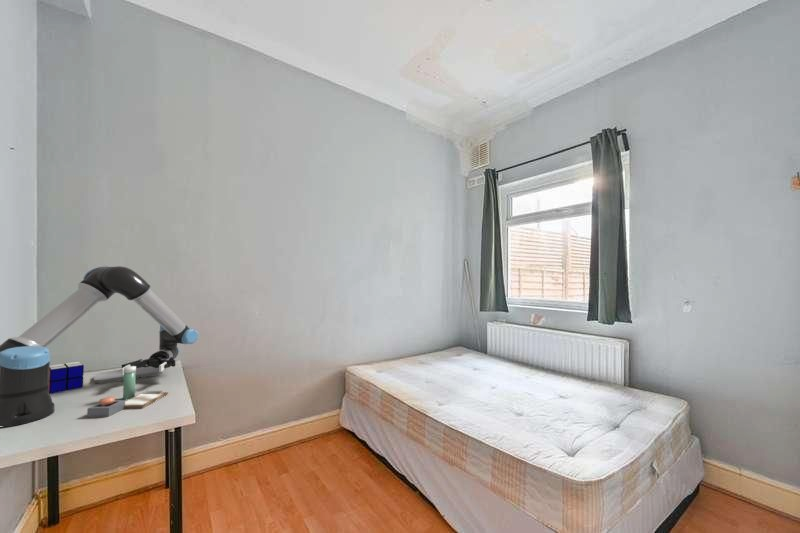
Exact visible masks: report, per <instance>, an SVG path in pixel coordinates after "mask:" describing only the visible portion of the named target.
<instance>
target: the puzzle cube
mask: <svg viewBox="0 0 800 533" xmlns="http://www.w3.org/2000/svg"><path fill="white" fill-rule="evenodd" d="M84 368H85V366H84V364H83V363H82V362H81V361H74V362H67V363H58V364H53V365H50V367H49V384H48V391H49V394H50V395H52V394H56V393H57V394H58V393H62V392H66V391H72V390H77V389H78V390H79V389H83V388H84V372H85V371H84V370H85V369H84Z"/></svg>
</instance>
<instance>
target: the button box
mask: <svg viewBox="0 0 800 533" xmlns="http://www.w3.org/2000/svg"><path fill="white" fill-rule="evenodd" d="M125 401H126V400H123V399H119V400H118V399H117V400H116V399H115V402H114V403H112V404H109V405H99V402H98V403H96V404H94V405H92V406H89V407H87V412H86V414H87V416H86V417H87V418H102V417H103V418H104V417H111V416H113V415H115V414H117V413H119V412H121V411H123V410H125V409H124V406H125Z"/></svg>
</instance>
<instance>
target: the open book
mask: <svg viewBox="0 0 800 533" xmlns="http://www.w3.org/2000/svg"><path fill="white" fill-rule="evenodd" d="M167 394H168V395H169V392H167V391H166V392H164V391H163V390H146V391H144V392H141V393H139V394H137V395H135V397H133V398H131V399H129V400H125V406H124V409H123V410H131V409H130V408H143V409H144V408H147V407H148V406H150V405H152V404H154V403H156V402H157V401H159V400H161V399H163V398H165V397H166V395H167ZM168 395H167V396H168ZM164 396H165V397H164ZM162 397H163V398H162ZM160 398H161V399H160ZM158 399H159V400H158ZM156 400H157V401H156ZM155 401H156V402H155ZM153 402H154V403H153ZM151 403H152V404H151ZM149 404H150V405H149ZM147 405H148V406H147Z"/></svg>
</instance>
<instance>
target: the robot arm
mask: <svg viewBox="0 0 800 533" xmlns="http://www.w3.org/2000/svg"><path fill="white" fill-rule="evenodd" d="M77 288H78V289H77V290H75V291H74V292H72V293H71V294H70V295H69V296H68V297H67V298H65V299H64V300H63V301H61V302H60V303H59V304H58V305H57V306H55V307H54V308H52V310H50V311H49V312H48V313H46V314H45V315H44V316H43V317H42V318H40V319H39V320H38V321H37V322H36V323H34V324H33V325H32V326H30V327H29V328H28V329H26V330H25V331H23V333H22V334H20V335H19V336H16V337H10V338H7V339H6V340H5V341H4V342H3V343H1V344H0V426H9V427H14V426H13V425H15V426H19V424H20V425H23V424H27V423H28V424H29V423H31V422H35V421H38V420H41V419H44V418H47V417H49V416H51V415H53V413H54V412H55V408H56V407H55V403H54V402H53V400H52V396H51V394H49V391H48V384H49V367H50V366H51V365H50V363H51V357H52V356H51V353H50V349H49V348H47V347H49V346H50V345H51V344H52V343H53V342H54V341H56V340H57V338H59V337H60V336H61V335H62V334H64V333H65V332H66V331H67V330H68V329H69V328H71V326H73V325H74V324H75V323H76V322H77V321H78V320H80V318H83V317H84V315H85V314H86V313H87V312H89V311H90V310H91V309H93V307H95V305H97V304H98V303H100V302H107V300H108V299H111V297H112V296H113V295H115V294H119V295H121V296H123V297H124V298H126V299H127V300H128V301H133V302H134V303H136V305H138V306H139V307H140V308H141V309H142V310H143V311H144V312H145V313H146V314H147V315H148V316H150V317H151V319H153V321H155V322H156V323H157V324H158V325H160V326H159V331H158V332H159V335H158V336H159V346H158V349H159V350H158V351H156V352H154V353H152V354H151V355H150V356H149V357H148V358H146V359H142V358H140V359H138V360H134V361H131V362H128V363H124V364H121V368H120V370H121V375H124V368H125V367H129V366H136V368H141V367H149V366H150V367H154V368H159V372H162V371H163V370H164V371H165V370H166V369H167V368H171V367H172V368H173V367H176V360H175V359H176V358H177V357H178V356H179V354H180V348H179V347H178V344H182V345H193V344H194V343H196V342H197V341H198V339H199V332H198V331H197V330H196V329H193V328H190V327H189V326H188V325H187V324H185V323H184V322H183V321H182V320H181V318H180V317H178V315H177V314H175V313H174V312H173V310H171V308H170V307H168V306H167V305H166V303H164V301H162V300H161V298H159V296H157V295H156V294H155V292H154V291H152V290H151V288H152V287H151V285H150V284H149V283H148V282H147V281H146V280H145V279H144V278H143V277H142V276H141V275H140V274H138V272H136V271H134V270H132V269H131V268H128V267H126V266H107V265H105V266H104V265H103V266H98V267H95V268H92V269H90V270H88V271H87V272H85V274H84V276H83V280H81V281H80V282H78V284H77ZM164 371H163V372H164Z"/></svg>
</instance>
